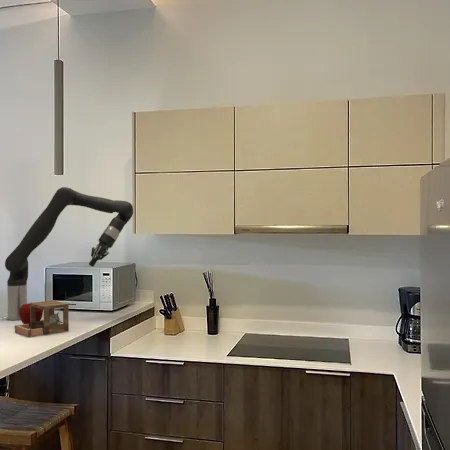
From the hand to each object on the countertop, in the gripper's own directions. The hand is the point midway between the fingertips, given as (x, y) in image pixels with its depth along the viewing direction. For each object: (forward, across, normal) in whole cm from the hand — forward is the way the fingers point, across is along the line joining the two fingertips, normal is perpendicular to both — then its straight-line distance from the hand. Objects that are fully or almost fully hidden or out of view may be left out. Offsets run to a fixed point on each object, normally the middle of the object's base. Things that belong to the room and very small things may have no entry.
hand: (90, 265), depth 251 cm
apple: (+38, -8, -4) cm, 39 cm away
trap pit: (+42, +7, -12) cm, 44 cm away
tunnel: (+36, +8, -5) cm, 37 cm away
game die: (+36, +8, -4) cm, 37 cm away
